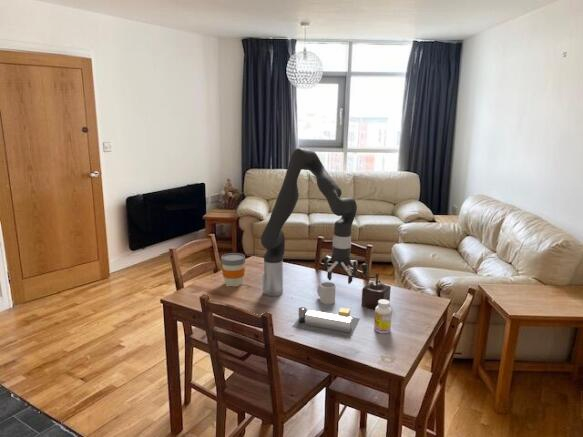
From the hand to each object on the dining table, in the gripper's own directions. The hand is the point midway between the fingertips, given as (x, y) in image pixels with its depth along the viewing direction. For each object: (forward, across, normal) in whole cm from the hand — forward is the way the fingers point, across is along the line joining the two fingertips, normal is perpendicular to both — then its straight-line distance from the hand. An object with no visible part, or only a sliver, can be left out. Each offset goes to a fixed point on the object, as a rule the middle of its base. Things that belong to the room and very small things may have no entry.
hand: (339, 281), depth 181 cm
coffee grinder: (+18, -10, -21) cm, 30 cm away
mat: (+18, +3, +5) cm, 19 cm away
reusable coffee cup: (+20, +62, -18) cm, 67 cm away
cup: (+19, +10, -16) cm, 27 cm away
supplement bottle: (+18, -20, +1) cm, 27 cm away
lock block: (+17, -4, +3) cm, 18 cm away
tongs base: (+18, +3, +9) cm, 20 cm away
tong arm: (+17, +2, +7) cm, 19 cm away
